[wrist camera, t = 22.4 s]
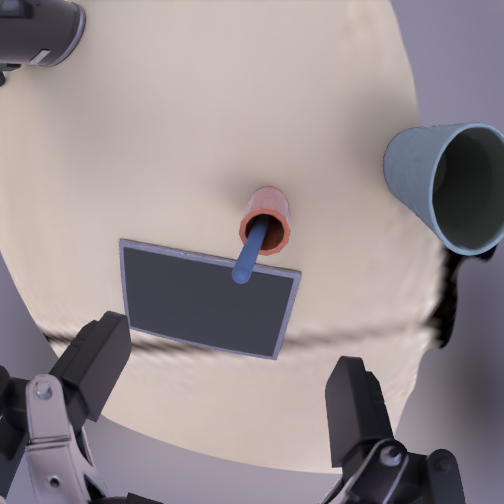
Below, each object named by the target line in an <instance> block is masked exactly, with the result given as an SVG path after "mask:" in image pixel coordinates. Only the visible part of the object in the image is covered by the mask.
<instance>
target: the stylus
mask: <svg viewBox="0 0 504 504" xmlns="http://www.w3.org/2000/svg"><path fill="white" fill-rule="evenodd" d="M271 216H272V215H269V214H263V213H262V214H259V215H258V216H257V218H256V220H255V223H254V225H253V227H252V229H251V231H250V233H249V236H248V238H247V240H246V242H245V244H244V247H243V249H242V251H241V253H240V255H239V258H238V260H237V262H236V264H235V266H234V269H233V271H232V278H233V280H234V281H235V282H236V283H239V284H244V283H246V282H247V281H248V280H249V278H250V276H251V273H252V270H253V267H254V265H255V262H256V259H257V256H258V253H259V250H260V247H261V245H262V242H263V239H264V236H265V233H266V230H267V227H268V225H269V222H270V219H271Z"/></svg>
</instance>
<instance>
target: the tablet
mask: <svg viewBox="0 0 504 504" xmlns="http://www.w3.org/2000/svg"><path fill="white" fill-rule="evenodd" d="M119 251H120V266H121V279H122V289H123V299H124V307H125V315H126V316H127V318H128V323H129V328H130V329H133V330H137V331H140V332H144V333H147V334H151V335H155V336H159V337H163V338H167V339H171V340H175V341H179V342H183V343H187V344H192V345H196V346H201V347H206V348H210V349H215V350H220V351H225V352H230V353H236V354H241V355H247V356H253V357H259V358H265V359H272V360H277V357H278V354H279V350H280V347H281V344H282V340H283V337H284V334H285V331H286V327H287V324H288V320H289V317H290V313H291V310H292V307H293V303H294V299H295V296H296V292H297V289H298V285H299V281H300V278H301V272H299V271H293V270H287V269H282V268H276V267H270V266H265V265H259V264H255V265H254V267H253V270H252V273H251V276H250V278H249V280H248V281H247V282H246V283H244V284H239V283H236V282H235V281H234V280H233V278H232V271H233V269H234V266H235V264H236V262H237V260H231V259H226V258H220V257H215V256H210V255H204V254H199V253H193V252H188V251H183V250H177V249H172V248H167V247H161V246H156V245H151V244H146V243H140V242H135V241H130V240H125V239H121V240H120V241H119Z"/></svg>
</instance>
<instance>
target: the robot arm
mask: <svg viewBox="0 0 504 504" xmlns="http://www.w3.org/2000/svg"><path fill="white" fill-rule="evenodd" d="M84 25H85V13H84V10H83V8H82V7H81V6H80V5H78V4H75V3H72V2H68V1H65V0H0V86H1V85H2V84H3V83H4V81H5V77H4V74H3V72H2V71H12V70H15V69H18V68H20V67H21V64H28V65H39V66H47V67H49V66H53V65H56V64H58V63H60V62H61V61H62V60H64V59H65V58H66V57H67V56H68V55H69V54H70V53H71V51H72V50H73V49H74V47H75V46H76V44H77V43H78V41H79V39H80V37H81V35H82V32H83V29H84ZM130 353H131V338H130V331H129V323H128V318H127V316H126V315H122V314H119V313H115V312H112V311H107V312H106V313H105V314H104V315H103V317H102V318H101V319H100V320H99V321H96V320H93V321H91V322H90V323H88V324H87V325H85V326H84V327H83V328H82V329H81V330H80V332H79V333H78V334H77V335H76V338H74V339H73V341H72V342H71V345H69V346H68V347H67V349H66V350H65V352H64V353H63V354H62V356H61V357H60V358H59V360H58V361H57V363H56V364H55V365H54V367H53V368H52V370H51V371H50V372H49V373H48V374H40V375H37V376H35V377H33V378H32V379H31V380H24V379H19V378H14V377H10V375H9V373H8V371H7V370H6V369H5V368H4V367H3V366H1V365H0V416H1V415H2V418H1V419H0V504H7V501H6V497H7V494H8V491H9V488H10V486H11V483H12V481H13V478H14V476H15V473H16V471H17V468H18V466H19V464H20V461H21V458H22V456H23V454H24V452H25V454H26V459H27V465H28V470H29V475H30V479H31V483H32V487H33V491H34V495H35V499H36V503H37V504H163V503H161V502H157V501H154V500H151V499H147V498H144V497H141V496H138V495H135V494H132V493H128V495H127V497H110V496H109V494H108V491H107V489H106V486H105V484H104V482H103V481H102V478H101V477H100V475H99V473H98V471H97V468H96V466H95V463H94V460H93V457H92V454H91V450H90V447H89V444H88V440H87V437H86V433H85V430H84V426H83V424H84V423H85V421H86V419H89V420H92V421H94V422H97V419H98V417H99V415H100V413H101V411H102V409H103V407H104V405H105V403H106V401H107V399H108V397H109V395H110V393H111V391H112V389H113V388H114V386H115V384H116V382H117V380H118V378H119V376H120V374H121V372H122V370H123V368H124V367H125V365H126V363H127V361H128V359H129V357H130ZM325 400H326V408H327V418H328V428H329V438H330V449H331V461H332V468H334V467H342V471H343V474H342V475H341V476H340V477H339V478H338V480H337V481H336V482H335V484H334V485H333V486H332V487H331V489H330V490H329V491H328V493H327V494H326V495H325V496H324V498H323V499H322V500H321V501H320V502H319V503H318V504H386V503H387V504H466V503H465V497H464V492H463V487H462V482H461V477H460V473H459V469H458V464H457V461H456V458H455V456H454V455H453V454H452V453H451V452H450V451H448V450H445V449H438V450H435V451H434V452H433V453H431V454H430V455H429V456H427V455H421V454H415V453H410V452H407V449H406V448H405V446H404V445H403V444H402V443H400V442H399V441H397V440H395V439H394V436H393V432H392V428H391V424H390V420H389V416H388V413H387V409H386V405H385V404H384V402H385V401H384V398H383V395H382V391H381V387H380V384H379V381H378V380H377V379H376V377H375V376H374V375H373V373H372V372H370V371H366V370H365V367H364V363H363V360H362V358H360V357H349V356H341V357H340V358H339V360H338V362H337V364H336V366H335V368H334V370H333V372H332V374H331V376H330V377H329V379H328V381H327V384H326V389H325ZM29 441H30V443H29Z"/></svg>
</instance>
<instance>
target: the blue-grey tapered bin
mask: <svg viewBox="0 0 504 504" xmlns="http://www.w3.org/2000/svg"><path fill="white" fill-rule="evenodd" d="M383 167H384V174H385V179H386V182H387V184H388V186H389V188H390V190H391V192H392V193H393V194H394V195H395V196H396V197H397V198H398V199H399V200H400V201H401V202H402V203H404V204H405V205H406V206H407V207H408V208H409V209H410V210H412V211H413V212H414V213H415V214H416V216H418V217H419V218H421V220H422V221H423V222H424V223H425V224H426V225H427V226H428V227H429V228H430V229H431V230H432V231H433V232H434V233H435V234H436V236H437V237H438V238H439V239H440V240H441V241H442V242H443V243H444V244H445V245H446V246H447V247H448V248H449V249H451V250H452V251H454V252H456V253H459V254H462V255H476V254H480V253H483V252H485V251H487V250H489V249H490V248H492V247H493V246H495V245H496V244H497V243H498V242H499V241H500V240H501V239H502V237H503V236H504V135H503V134H502V133H501V132H499V131H498V130H497V129H495V128H494V127H492V126H490V125H488V124H485V123H481V122H471V123H460V124H454V125H439V126H432V127H429V128H427V127H417V128H410V129H407V130H404V131H402V132H401V133H399V134H398V135H396V136H395V137H394V138H393V139H392V141H391V142H390V143H389V145H388V147H387V149H386V152H385V156H384V165H383Z"/></svg>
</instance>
